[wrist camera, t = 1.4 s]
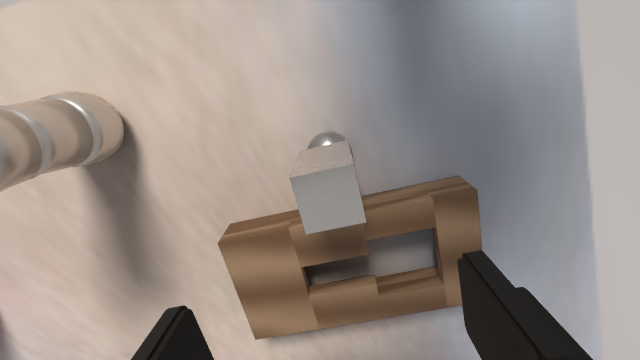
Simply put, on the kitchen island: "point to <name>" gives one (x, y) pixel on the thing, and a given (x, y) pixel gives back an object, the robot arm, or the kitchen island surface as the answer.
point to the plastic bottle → (56, 135)
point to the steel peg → (327, 185)
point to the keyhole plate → (347, 242)
